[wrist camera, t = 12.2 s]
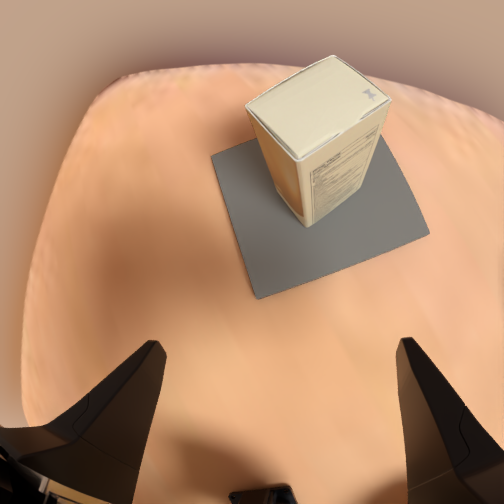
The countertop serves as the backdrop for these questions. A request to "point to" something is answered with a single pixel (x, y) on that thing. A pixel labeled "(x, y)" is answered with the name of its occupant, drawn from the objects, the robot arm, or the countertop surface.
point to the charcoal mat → (320, 233)
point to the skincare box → (319, 134)
